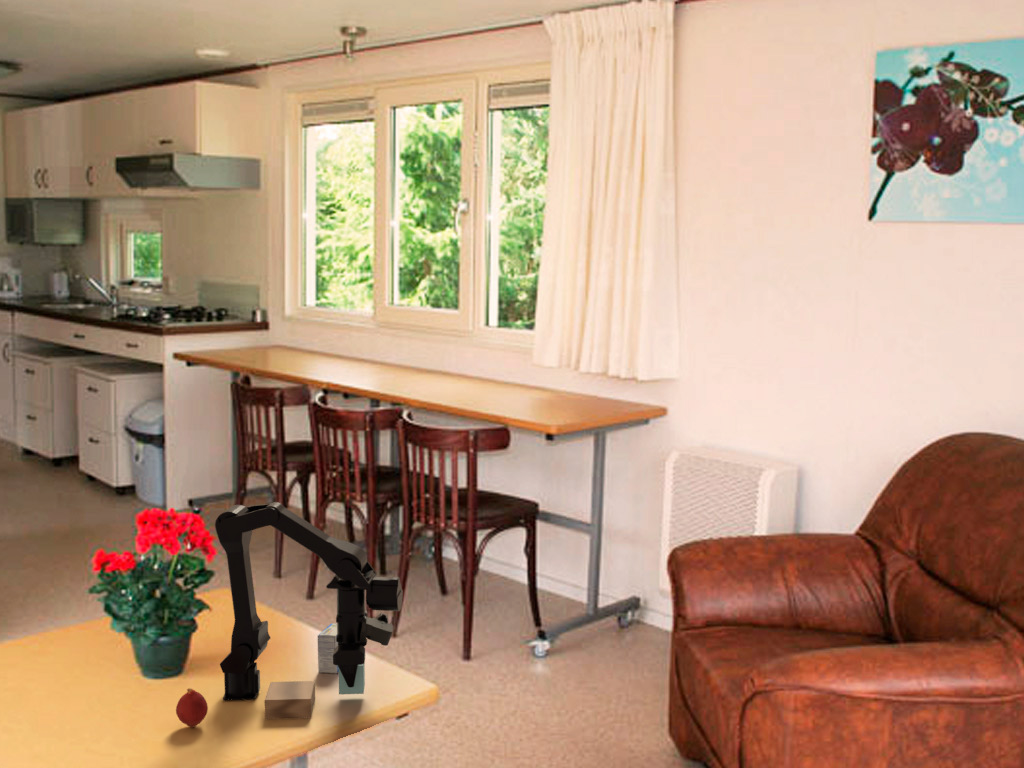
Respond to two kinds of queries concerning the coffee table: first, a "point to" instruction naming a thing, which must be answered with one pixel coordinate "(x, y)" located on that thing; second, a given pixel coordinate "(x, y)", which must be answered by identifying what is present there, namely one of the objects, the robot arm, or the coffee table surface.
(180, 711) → the onion
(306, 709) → the walnut stand
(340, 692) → the teal block
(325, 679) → the coffee table surface
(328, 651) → the medicine box
